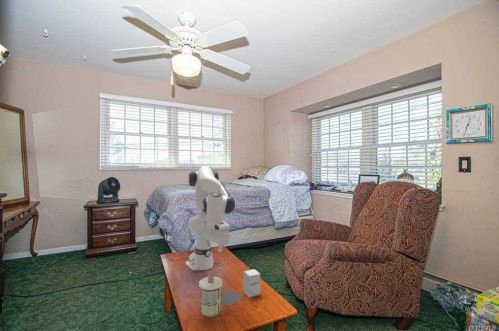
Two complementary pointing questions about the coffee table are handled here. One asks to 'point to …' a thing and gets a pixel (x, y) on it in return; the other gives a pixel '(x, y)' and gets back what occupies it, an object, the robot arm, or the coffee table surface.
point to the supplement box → (251, 283)
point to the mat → (230, 297)
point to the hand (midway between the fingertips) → (214, 249)
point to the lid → (210, 282)
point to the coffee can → (210, 302)
